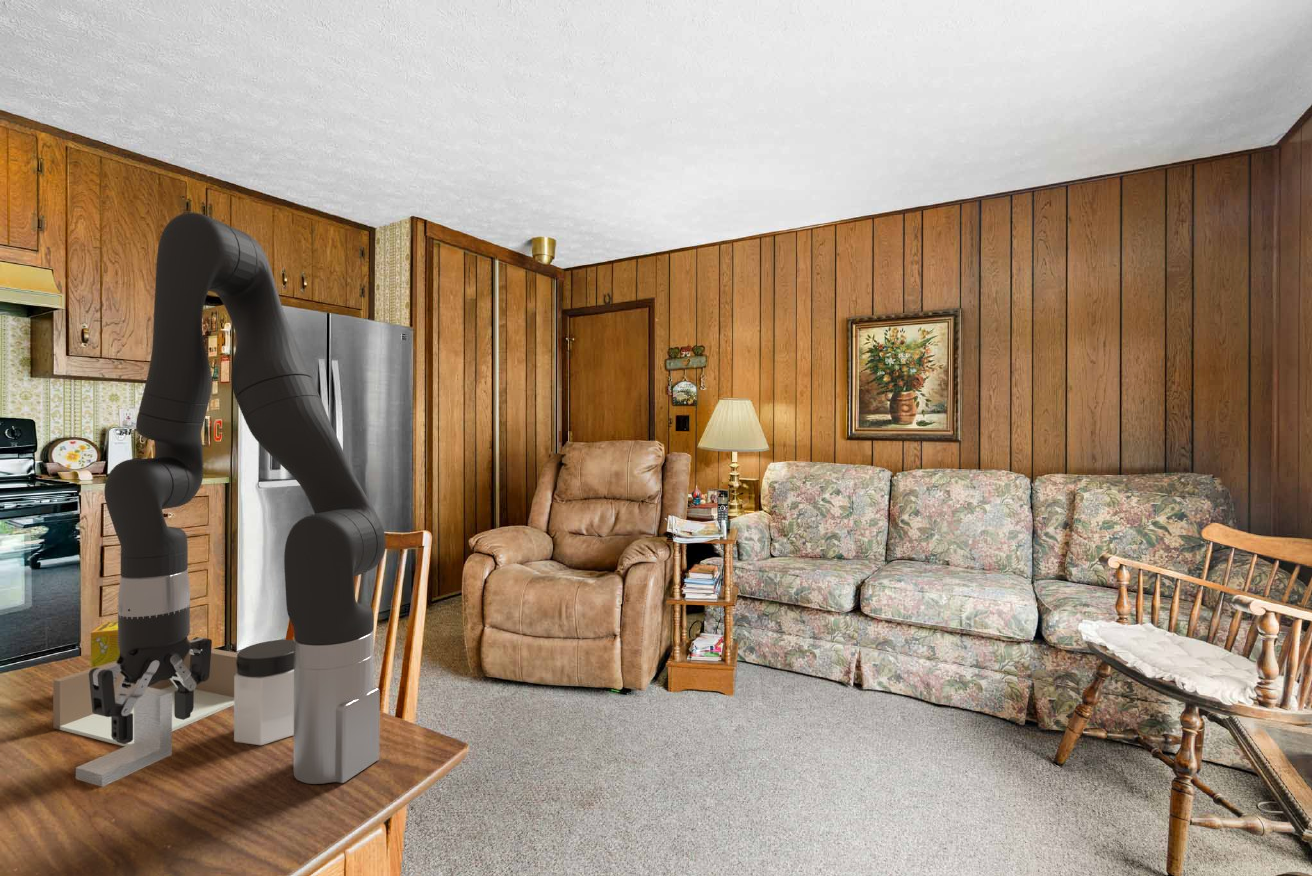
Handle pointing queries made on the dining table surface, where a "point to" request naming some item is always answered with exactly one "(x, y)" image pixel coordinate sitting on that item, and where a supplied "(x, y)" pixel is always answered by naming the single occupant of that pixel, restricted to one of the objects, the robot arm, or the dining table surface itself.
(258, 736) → the jar
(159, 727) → the bracket
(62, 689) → the tray
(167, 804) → the dining table surface
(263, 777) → the dining table surface
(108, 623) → the supplement box
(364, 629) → the robot arm
